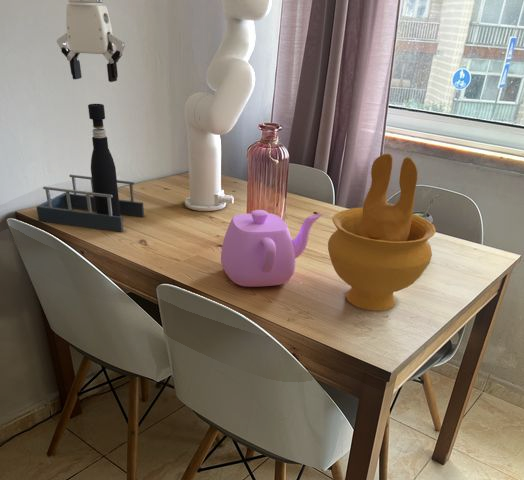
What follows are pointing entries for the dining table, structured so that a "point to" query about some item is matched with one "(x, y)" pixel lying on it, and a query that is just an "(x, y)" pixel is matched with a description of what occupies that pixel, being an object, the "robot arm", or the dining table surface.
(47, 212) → the dish rack
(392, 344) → the dining table surface
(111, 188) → the dark blue bottle
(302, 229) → the teapot
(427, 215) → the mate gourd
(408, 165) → the decorative bowl
